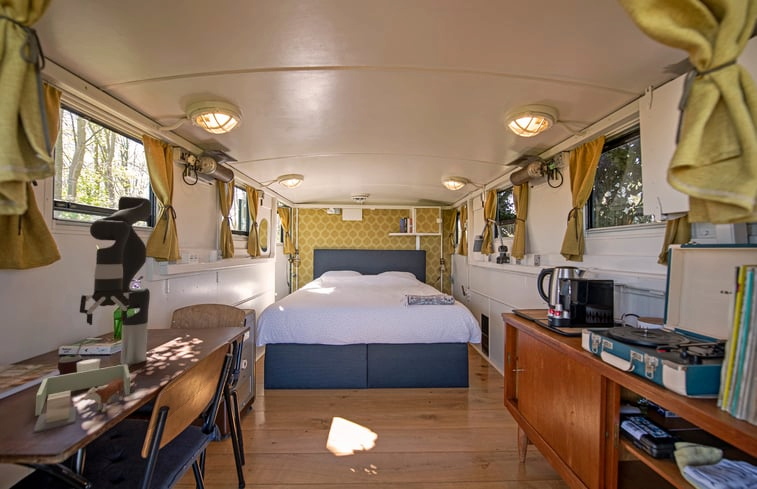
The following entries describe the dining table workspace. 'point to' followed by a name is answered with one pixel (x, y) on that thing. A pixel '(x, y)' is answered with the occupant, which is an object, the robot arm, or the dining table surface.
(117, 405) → the dining table surface
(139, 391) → the dining table surface
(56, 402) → the cream block
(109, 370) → the green u-shaped frame
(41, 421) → the grey rectangular plate
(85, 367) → the cream cup
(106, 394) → the bull figurine
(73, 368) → the mate gourd
